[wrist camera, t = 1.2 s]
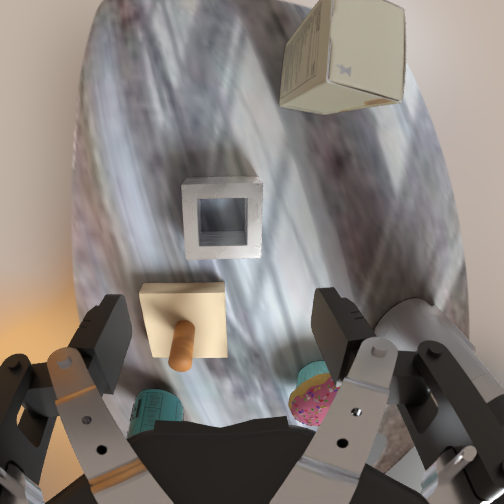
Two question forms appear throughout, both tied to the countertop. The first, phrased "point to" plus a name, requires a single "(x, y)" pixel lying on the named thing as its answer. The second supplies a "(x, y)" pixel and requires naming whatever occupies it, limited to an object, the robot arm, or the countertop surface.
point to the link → (222, 241)
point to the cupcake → (312, 394)
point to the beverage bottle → (154, 410)
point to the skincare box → (345, 57)
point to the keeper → (185, 321)
